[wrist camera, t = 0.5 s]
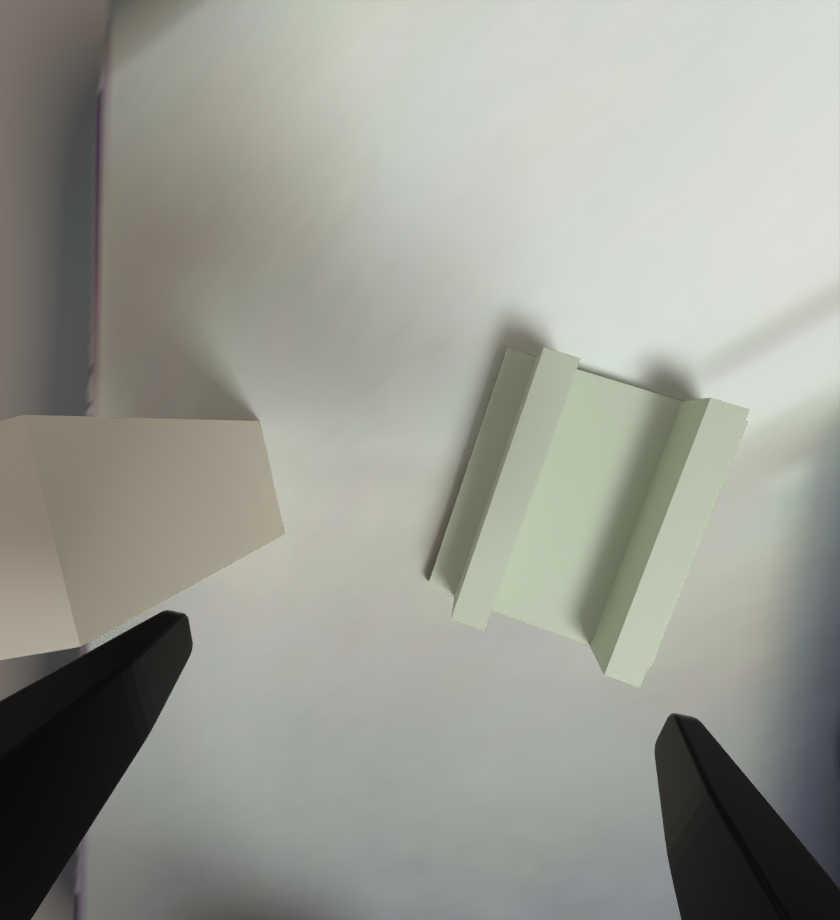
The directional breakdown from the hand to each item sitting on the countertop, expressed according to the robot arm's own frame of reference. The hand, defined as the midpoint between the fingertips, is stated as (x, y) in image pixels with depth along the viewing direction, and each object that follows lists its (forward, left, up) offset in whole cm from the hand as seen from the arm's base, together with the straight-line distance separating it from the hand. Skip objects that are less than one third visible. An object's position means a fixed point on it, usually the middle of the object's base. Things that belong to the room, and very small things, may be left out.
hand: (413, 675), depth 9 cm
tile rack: (+5, -2, -15) cm, 16 cm away
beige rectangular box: (-9, +8, -15) cm, 19 cm away
